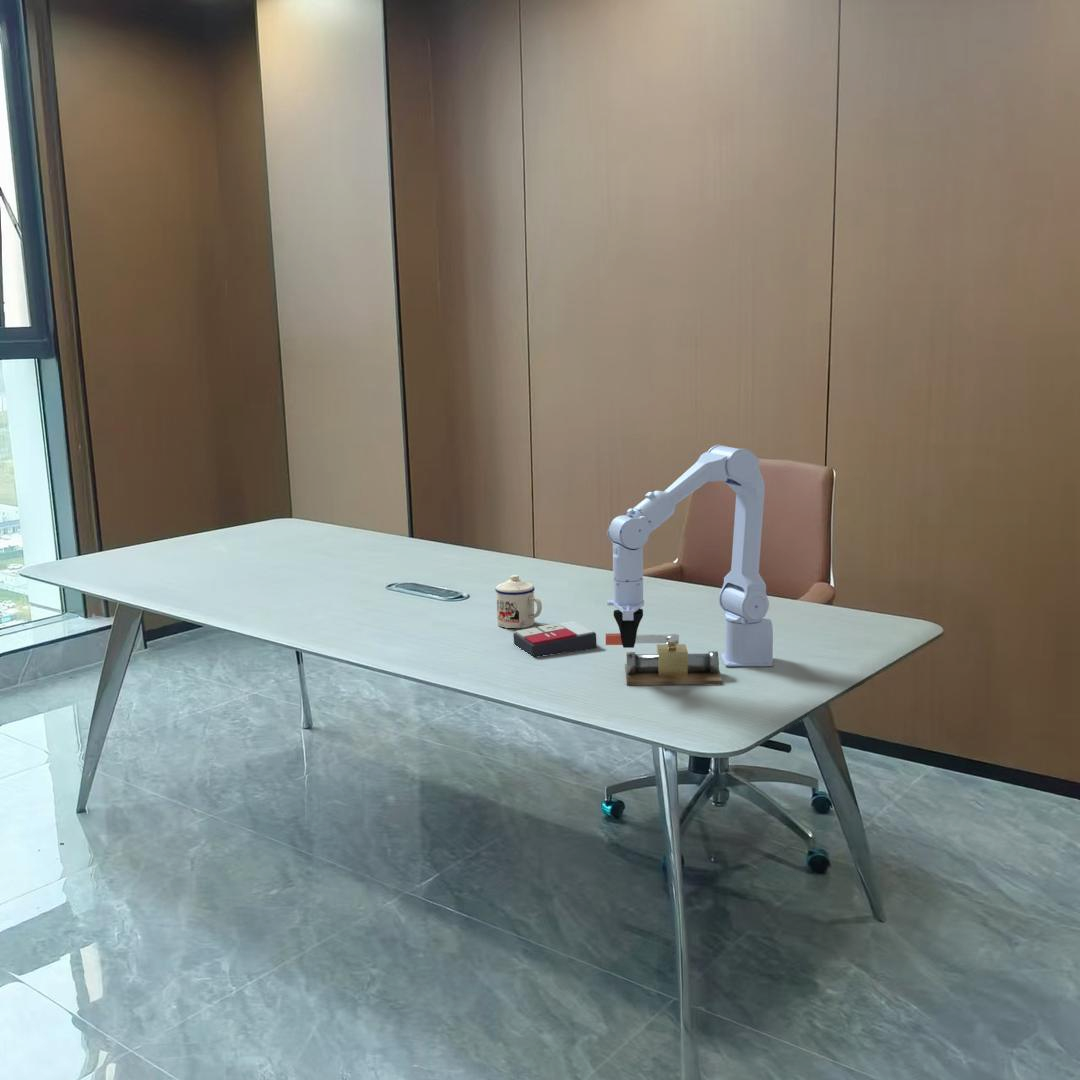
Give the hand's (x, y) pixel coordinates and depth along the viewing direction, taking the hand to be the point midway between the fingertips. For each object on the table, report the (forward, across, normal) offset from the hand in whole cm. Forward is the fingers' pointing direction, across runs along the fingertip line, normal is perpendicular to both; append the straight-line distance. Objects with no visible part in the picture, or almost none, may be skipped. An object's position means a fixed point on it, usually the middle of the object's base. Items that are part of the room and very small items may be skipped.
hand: (628, 647), depth 207 cm
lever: (0, -2, +3) cm, 3 cm away
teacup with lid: (+7, -39, -25) cm, 47 cm away
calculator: (+7, -22, -16) cm, 28 cm away
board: (+6, -2, +8) cm, 11 cm away
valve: (+6, -2, +8) cm, 11 cm away
